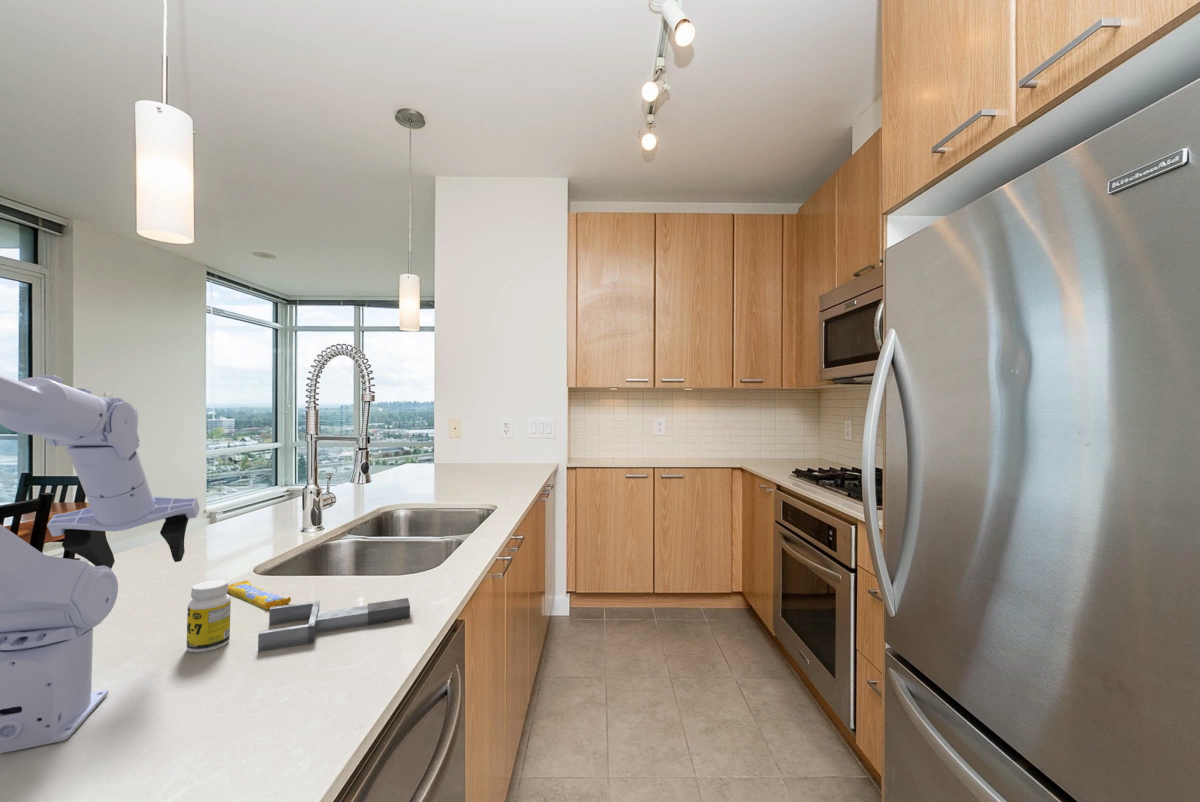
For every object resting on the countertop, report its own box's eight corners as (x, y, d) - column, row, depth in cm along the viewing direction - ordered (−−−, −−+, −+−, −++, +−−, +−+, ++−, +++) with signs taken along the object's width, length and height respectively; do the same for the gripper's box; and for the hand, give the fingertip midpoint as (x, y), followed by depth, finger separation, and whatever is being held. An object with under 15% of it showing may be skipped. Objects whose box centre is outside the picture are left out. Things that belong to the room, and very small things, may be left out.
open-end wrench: (411, 626, 77) (412, 610, 77) (257, 651, 68) (258, 633, 68) (406, 603, 86) (406, 589, 86) (269, 623, 77) (270, 607, 78)
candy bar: (293, 607, 85) (294, 595, 85) (266, 615, 82) (266, 603, 82) (248, 587, 94) (248, 577, 94) (221, 594, 91) (221, 583, 91)
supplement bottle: (179, 648, 69) (180, 586, 69) (218, 635, 73) (220, 576, 73) (197, 656, 67) (199, 592, 67) (236, 642, 71) (238, 582, 71)
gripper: (194, 458, 70) (215, 532, 76) (52, 472, 64) (87, 551, 70) (181, 490, 64) (204, 567, 71) (24, 508, 58) (65, 590, 65)
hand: (145, 562), depth 70 cm, fingers open, 7 cm apart
